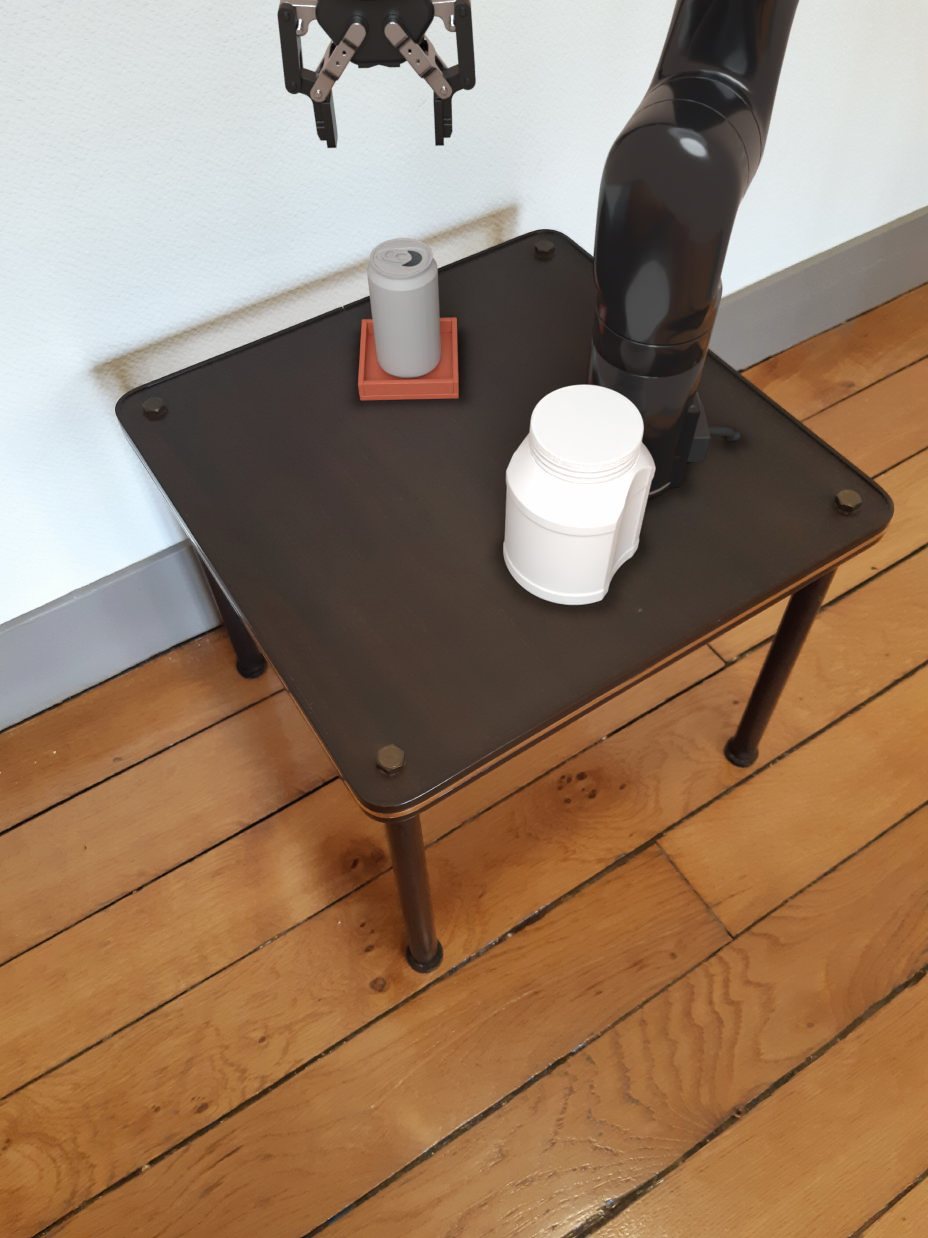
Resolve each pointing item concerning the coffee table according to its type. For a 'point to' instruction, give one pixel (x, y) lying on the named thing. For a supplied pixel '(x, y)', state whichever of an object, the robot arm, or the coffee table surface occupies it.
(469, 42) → the robot arm
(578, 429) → the jar
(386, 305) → the beverage can
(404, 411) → the coffee table surface
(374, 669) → the coffee table surface
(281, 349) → the coffee table surface
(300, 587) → the coffee table surface
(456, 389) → the red tray
